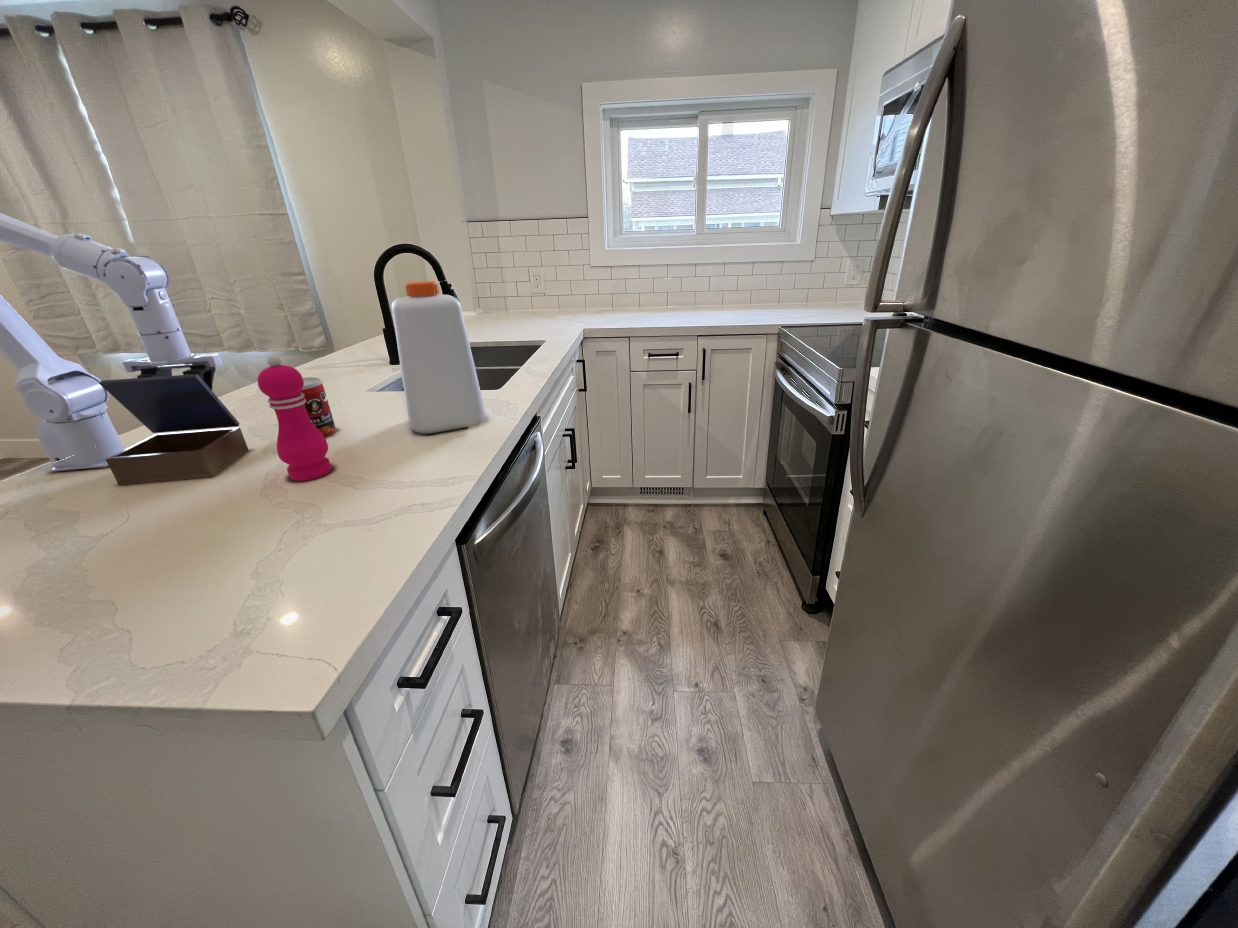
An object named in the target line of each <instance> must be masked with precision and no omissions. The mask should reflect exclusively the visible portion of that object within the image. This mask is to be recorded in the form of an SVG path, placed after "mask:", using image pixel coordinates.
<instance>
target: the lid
mask: <svg viewBox="0 0 1238 928" xmlns="http://www.w3.org/2000/svg"><path fill="white" fill-rule="evenodd" d="M100 380H101V379H100ZM99 384H100V385H101V386H102V387H103V388H104V389H106V390H107V391H108V392H109V395H111V396H112V397H113V398H114V399H115V400H116V401H117V402H118V403H120V405H121V406H122V407H124V408H125V409H126V410H127V411H128V412H130V414H131V415H133V417H135V418H136V419H137V420H138V421H139V422H140V423H141V424H143V425H144V426H145V427H146V428H147V429H148V430H149V431H150V432H151V433H152V434H162V433H175V432H187V431H200V430H212V429H225V428H238V427H239V426H240V422H239V420H238V419H237V418H236V417H235V416H234V415H233V413H232V412H231V411H230V410H229V409H228V407H226V406H225V404H224V403H223V402H222V401H221V400H220V399H219V397H218V396H217V395H216V394H215V393H214V391H213V389H212V390H211V389H210V388H209V387H208V386H207V385H206V383H205V382H204V381H203V380H202V379H201V378H200V376H199V375H198V374H189V375H183V374H175V375H172V376H160V377H145V378H137V377H132V378H119V379H118V378H117V379H116V378H115V379H102V380H101V382H100V383H99Z"/></svg>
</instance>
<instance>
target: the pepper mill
mask: <svg viewBox="0 0 1238 928" xmlns="http://www.w3.org/2000/svg"><path fill="white" fill-rule="evenodd" d="M266 361H267V364H268V367H265V368H263V370H261V371H260V372H259V374H258V376H257V386H258V388H259V390H260V392H262V393H263V395H266V396H267V397H268V399H267V403H269V408H270V409H272V410H273V411H274V412H275V415H276V419H277V424H278V426H277V427H278V429H277V430H278V433H277V438H276V451H277V457H278V458H279V460H280V461H281V462H283V463H285V464H287V465H288V466H287V467H286V472H287V473H288V477H289V478H290V480H292V481H297V482H298V481H299V482H302V481H303V482H304V481H311V480H314V479H318V478H320V477H324V476H325V475H327V474H328V473H330V472H331V470H332V464H331V462H330V458H328V457H327V456H326V455H327V453H328V451H329V444H328V442H327V439H326V438H324V436H323V435H322V433H321V432H320V431H319V430H318V429H317V428H316V427H315V426H314V424H313V423H312V422H311V420H310V419H309V417H308V415H307V412H306V410H305V406H304V403H305V402H306V399H305V398H304V394H303V393H301V390H302V388H303V386H304V381H303V378H304V377H303V376H302V373H300V371H299V370H298V369H297V368H295V367H293V366H290V365H286V364H282V360H281V358H280V357H279V356H277V355H270V356H268V358H267V360H266Z"/></svg>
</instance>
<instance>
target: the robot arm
mask: <svg viewBox="0 0 1238 928" xmlns="http://www.w3.org/2000/svg"><path fill="white" fill-rule="evenodd" d="M0 241H1V242H4V243H7V244H9V245H13V246H17V247H19V248H22V249H26V250H29V251H32V252H36V253H39V254H42V255H46V256H48V257H52V259H53V261H54V262H55V263H56V264H57V266H59V267H60V268H61V269H64V270H66V271H69V272H73V273H74V274H78V275H81V276H84V277H85V278H86V277H87V278H89V279H92V280H95V281H98V282H100V283H104V284H106V286H108V287H109V288H110V289H111V290H112V291H113V292H115V293H116V295H118V296H119V298H120V300H121V302H122V304H124V305H125V306H126V309H127V310H128V312H129V315H130V318H131V320H132V322H133V325H134V327H135V329H136V331H137V333H138V337H139V339H140V341H141V343H142V346H143V348H144V350H145V352H146V355H147V357H141V358H130V359H126V360H123V361H122V362H121V363H122V365H123V367H124V370H125V372H126V373H135V372H140V374H138V375H137V376H136V378H145V377H160V376H173V371H172V370H173V369H187V370H183V371H182V372H181V373H182V375H189V374H198V375H199V376H200V378H201V379H202V380H203V381H204V382H205V383H206V385H207V386H208V387H209V388H210V389H211V390H212V391H213V384H214V377H215V373H216V370H217V369H216V368H217V367H219V366H221V365H223V362H222V359H221V356H220V354H219V353H192V352H191V349H190V347H189V344H188V343H187V340H186V337H185V334H184V332H183V330H182V328H181V325H180V322H179V320H178V317H177V315H176V312H175V310H174V307H173V305H172V302H171V300H170V297H169V295H168V292H167V288H168V287H169V285H170V275H169V273H168V271H167V269H166V267H164V265H163V264H162V263H160V262H159V261H157V260H156V259H154V258H152V257H150V256H149V255H141V254H139V255H134V256H131V255H129V254H128V253H127V251H126V249H122V248H119V247H114V248H111V247H110V246H107V245H105V244H101V243H98V242H96V241H93V240H92V236H90V235H88V234H85V233H80V232H79V233H77V232H76V233H66V234H65V233H64V234H61V235H60V236H58V235H56V234H54V233H51V232H49V231H46V230H43V229H41V228H39V227H36V226H34V225H31V224H28V223H26V222H23V221H22V220H19V219H16V218H14V217H12V216H9V215H7V214H4V213H2V212H0ZM0 354H1V355H2V356H3V357H4V358H5V359H6V360H7V361H8V362H9V363H10V364H11V365H12V367H14V368H15V369H16V370H17V372H18V375H17V378H16V380H15V382H14V385H13V388H14V389H15V391H16V392H17V393H18V394H19V395H20V396H21V397H22V399H23V401H24V405H25V407H26V408H27V409H28V411H29V412H30V413H32V414H33V415H34V416H36V417H37V418H39V419H41V420H42V421H41V422H40V423H39V424H38V425H37V428H36V436H37V439H38V441H39V443H40V444H41V446H42V448H43V450H44V452H45V453H46V455H47V457H48V459H49V460H50V462H51V464H52V463H53V462H56V461H59V460H61V461H59V462H56V463H53V464H52V466H53V467H51V468H50V471H51V472H61V471H62V472H63V471H73V470H75V471H76V470H84V469H85V470H86V469H97V468H107V467H109V465H108V464H107V462H106V460H105V459H107V458H109V457H111V456H113V455H115V454H117V453H119V452H121V451H123V450H124V449H126V448H125V446H124V443H123V442H122V440H121V438H120V436H119V434H118V432H117V430H116V428H115V426H114V424H113V422H112V420H111V418H110V416H109V414H108V412H107V411H106V410H107V409H109V408H108V405H107V404H106V403H108V401H109V400H110V393H109V392H108V391H107V390H106V389H104V388H103V387H102V386H101V385H100V384H99V383H100V382H101V379H100V378H99V377H96V376H95V375H93V374H91V373H90V372H89V371H87V369H85V368H84V367H83V366H82V365H81V364H79V363H76V362H74V361H71V360H67V359H65V358H61V357H60V356H59V355H58V354H56V352H55V351H54V350H53V349H52V348H51V346H50V345H48V343H47V342H45V341H44V340H43V338H42V337H41V336H40V335H39V334H38V333H37V332H36V331H35V330H34V328H33V327H32V326H30V324H28V322H27V321H26V320H25V319H24V318H23V317H22V316H21V315H20V314H19V313H18V311H16V310H15V309H14V307H13V306H12V305H11V304H10V303H9V302H8V301H7V300H6V299H5V298H4V297H3V295H1V294H0ZM95 446H96V447H95ZM72 455H74V456H72ZM69 456H71V457H69ZM66 457H69V458H67V459H65V458H66ZM62 459H64V460H62Z"/></svg>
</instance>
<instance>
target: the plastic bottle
mask: <svg viewBox="0 0 1238 928" xmlns="http://www.w3.org/2000/svg"><path fill="white" fill-rule="evenodd" d="M404 289H405V293H406V296H405V297H399V298H395V299H394V300H393V301H392V303H391V311H392V312H391V314H392V319H393V325H394V333H395V338H396V344H397V345H396V346H397V353H398V359H399V366H400V372H401V373H400V374H401V380H402V387H403V393H404V400H405V406H406V413H407V418H408V422H409V426H410V429H411V430H412V431H414V432H415V433H417V434H422V435H423V434H426V435H427V434H429V435H430V434H437V433H442V432H449V431H453V430H459V429H460V430H461V429H465V428H471V427H474V426H478V425H480V424H481V423H482V422H483V421H484V420H485V419H486V416H487V413H486V408H485V405H484V400H483V395H482V392H481V388H480V387H481V386H480V382H479V379H478V378H479V377H478V374H477V370H476V365H475V361H474V356H473V353H472V348H471V345H470V340H469V336H468V332H467V327H466V323H465V317H464V314H463V309H462V304H461V303H460V301H459V300H458V299H457V298H456V297H455V296H452V295H450V294H441V291H440V286H439V282H437V281H435V280H424V281H422V280H421V281H410V282H407V283H405V285H404Z"/></svg>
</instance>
